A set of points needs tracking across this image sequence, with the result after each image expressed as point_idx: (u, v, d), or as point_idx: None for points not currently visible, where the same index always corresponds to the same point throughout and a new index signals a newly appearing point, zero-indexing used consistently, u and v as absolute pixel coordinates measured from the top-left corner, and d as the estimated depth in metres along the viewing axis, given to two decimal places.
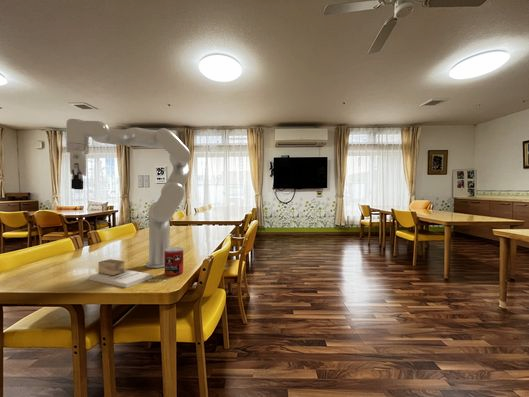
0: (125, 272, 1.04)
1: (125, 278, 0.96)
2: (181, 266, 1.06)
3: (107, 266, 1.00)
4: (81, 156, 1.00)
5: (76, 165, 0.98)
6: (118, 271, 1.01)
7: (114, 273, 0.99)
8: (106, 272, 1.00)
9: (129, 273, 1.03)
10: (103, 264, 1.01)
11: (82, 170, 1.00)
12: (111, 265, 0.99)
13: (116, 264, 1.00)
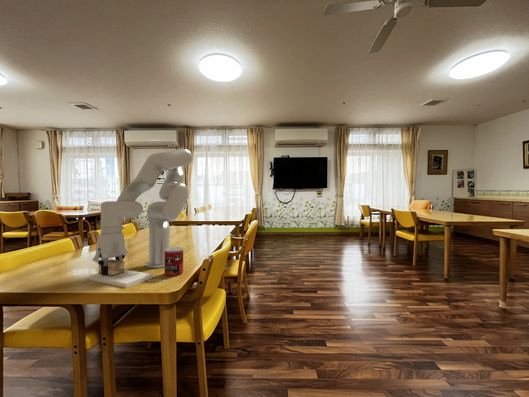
0: (125, 272, 1.04)
1: (125, 278, 0.96)
2: (181, 266, 1.06)
3: None
4: None
5: None
6: (118, 271, 1.01)
7: (114, 273, 0.99)
8: None
9: (129, 273, 1.03)
10: None
11: None
12: (111, 265, 0.99)
13: (116, 264, 1.00)
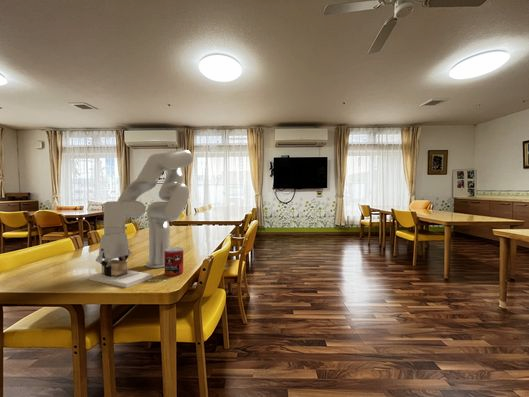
0: None
1: (125, 278, 0.96)
2: (181, 266, 1.06)
3: None
4: None
5: None
6: (121, 272, 1.00)
7: (117, 274, 0.99)
8: None
9: (129, 273, 1.03)
10: None
11: None
12: (114, 266, 0.98)
13: (119, 265, 0.99)
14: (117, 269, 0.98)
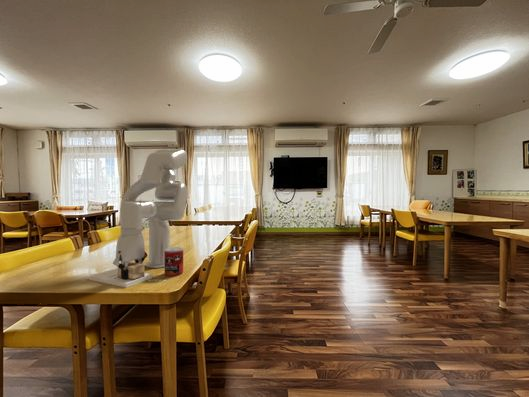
0: None
1: None
2: (181, 266, 1.06)
3: None
4: None
5: None
6: (138, 275, 0.96)
7: (135, 277, 0.95)
8: None
9: None
10: None
11: None
12: (132, 268, 0.94)
13: (137, 267, 0.95)
14: (135, 272, 0.95)
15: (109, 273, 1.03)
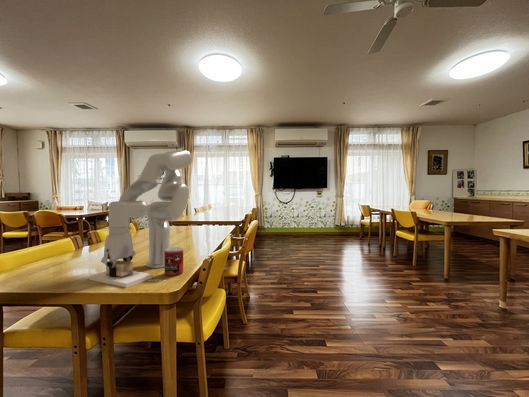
0: None
1: (125, 278, 0.96)
2: (181, 266, 1.06)
3: None
4: None
5: None
6: (126, 272, 0.99)
7: (123, 274, 0.97)
8: None
9: None
10: None
11: None
12: (120, 266, 0.97)
13: (125, 265, 0.98)
14: (123, 270, 0.97)
15: None
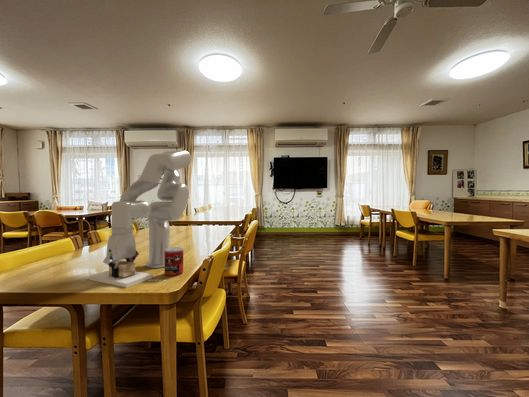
0: None
1: (125, 278, 0.96)
2: (181, 266, 1.06)
3: (118, 267, 0.97)
4: None
5: None
6: (129, 273, 0.98)
7: (125, 275, 0.97)
8: None
9: None
10: None
11: None
12: (122, 267, 0.96)
13: (127, 266, 0.97)
14: (125, 270, 0.97)
15: None
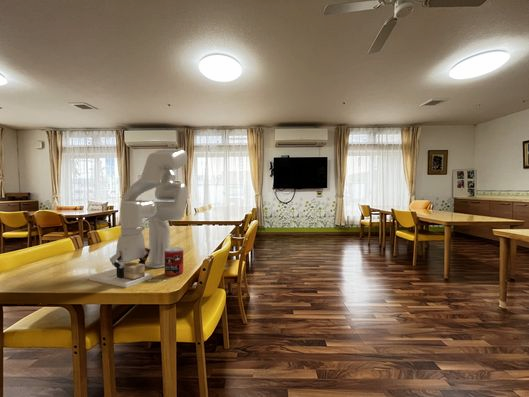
0: None
1: None
2: (181, 266, 1.06)
3: (127, 269, 0.95)
4: None
5: (144, 247, 1.04)
6: (139, 275, 0.96)
7: (135, 277, 0.95)
8: (126, 276, 0.96)
9: None
10: (123, 267, 0.96)
11: None
12: (132, 268, 0.94)
13: (137, 267, 0.95)
14: (135, 272, 0.95)
15: (109, 273, 1.03)
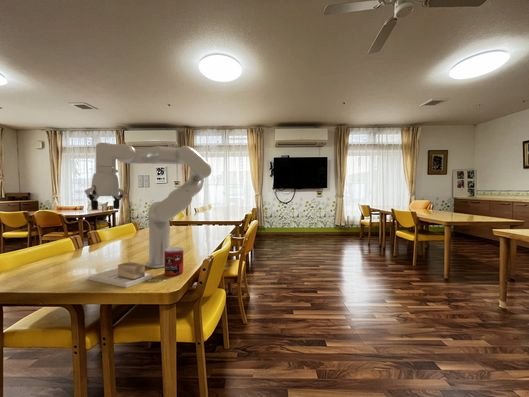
0: None
1: None
2: (181, 266, 1.06)
3: (127, 269, 0.95)
4: None
5: None
6: (139, 275, 0.96)
7: (135, 277, 0.95)
8: (126, 276, 0.96)
9: None
10: (123, 267, 0.96)
11: None
12: (132, 268, 0.94)
13: (137, 267, 0.95)
14: (135, 272, 0.95)
15: (109, 273, 1.03)
